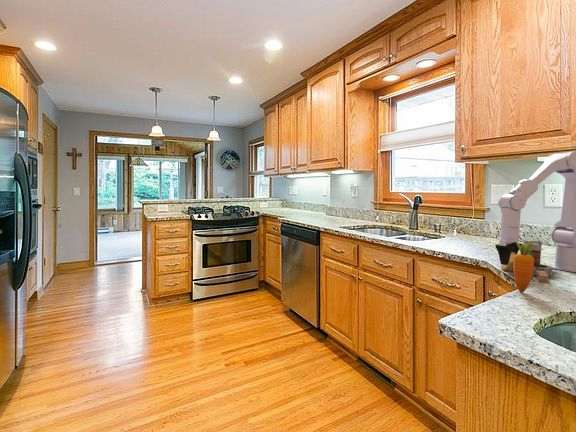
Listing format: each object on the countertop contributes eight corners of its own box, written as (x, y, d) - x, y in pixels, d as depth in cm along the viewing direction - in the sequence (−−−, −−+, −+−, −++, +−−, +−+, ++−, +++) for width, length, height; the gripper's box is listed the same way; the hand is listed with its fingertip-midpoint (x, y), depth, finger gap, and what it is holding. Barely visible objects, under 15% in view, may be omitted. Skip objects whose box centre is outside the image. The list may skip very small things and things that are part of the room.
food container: (520, 264, 132) (522, 239, 132) (540, 266, 129) (541, 241, 128) (518, 269, 123) (519, 243, 122) (538, 272, 119) (540, 245, 118)
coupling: (516, 267, 126) (516, 259, 126) (566, 277, 113) (567, 268, 112) (495, 272, 119) (495, 264, 118) (546, 283, 105) (546, 274, 105)
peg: (504, 268, 124) (505, 250, 124) (516, 271, 121) (517, 252, 120) (498, 270, 122) (499, 251, 122) (510, 272, 119) (511, 253, 118)
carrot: (507, 289, 98) (510, 240, 96) (524, 290, 98) (527, 240, 96) (518, 295, 93) (521, 243, 91) (536, 295, 93) (540, 243, 91)
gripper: (504, 224, 128) (502, 258, 129) (490, 227, 118) (488, 263, 120) (525, 226, 122) (523, 261, 124) (513, 228, 113) (510, 267, 114)
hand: (507, 263), depth 121 cm, fingers open, 7 cm apart
